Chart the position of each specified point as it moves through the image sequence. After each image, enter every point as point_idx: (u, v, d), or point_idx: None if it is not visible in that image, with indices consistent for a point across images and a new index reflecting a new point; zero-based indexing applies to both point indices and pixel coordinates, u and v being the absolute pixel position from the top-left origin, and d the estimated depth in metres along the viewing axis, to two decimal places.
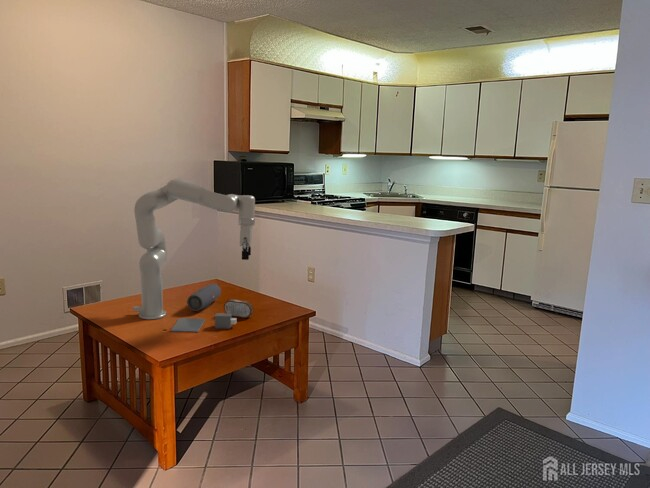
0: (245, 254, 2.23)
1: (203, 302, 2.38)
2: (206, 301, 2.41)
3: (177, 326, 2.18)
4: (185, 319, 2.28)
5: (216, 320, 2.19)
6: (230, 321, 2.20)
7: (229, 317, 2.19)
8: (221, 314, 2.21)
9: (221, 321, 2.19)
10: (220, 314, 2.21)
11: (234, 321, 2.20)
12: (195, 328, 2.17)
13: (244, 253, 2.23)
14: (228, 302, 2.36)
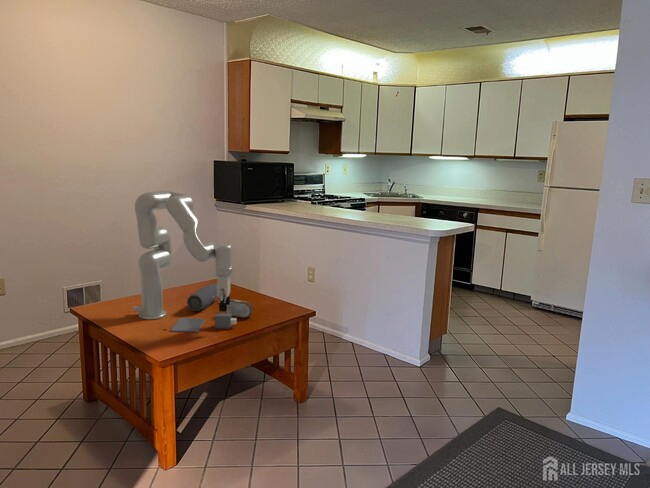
0: (222, 306, 2.14)
1: (203, 302, 2.38)
2: (206, 301, 2.41)
3: (177, 326, 2.18)
4: (185, 319, 2.28)
5: (216, 320, 2.19)
6: (230, 321, 2.20)
7: (229, 317, 2.19)
8: (221, 314, 2.21)
9: (221, 321, 2.19)
10: (220, 314, 2.21)
11: (234, 321, 2.20)
12: (195, 328, 2.17)
13: (221, 305, 2.14)
14: None
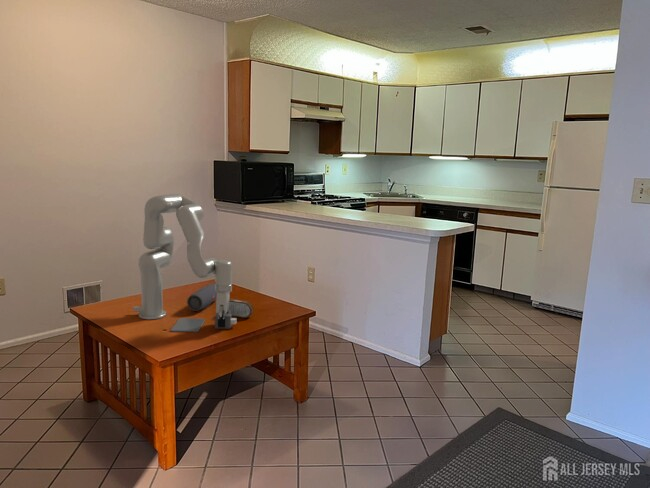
0: (221, 322, 2.15)
1: (203, 302, 2.38)
2: (206, 301, 2.41)
3: (177, 326, 2.18)
4: (185, 319, 2.28)
5: (216, 320, 2.19)
6: (230, 321, 2.20)
7: (229, 317, 2.19)
8: None
9: None
10: None
11: (234, 321, 2.20)
12: (195, 328, 2.17)
13: (220, 321, 2.15)
14: None
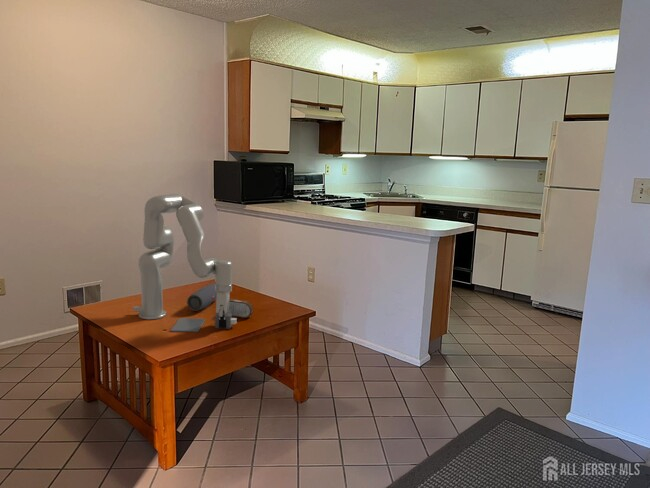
0: (222, 322, 2.18)
1: (203, 302, 2.38)
2: (206, 301, 2.41)
3: (177, 326, 2.18)
4: (185, 319, 2.28)
5: (216, 320, 2.19)
6: (230, 321, 2.20)
7: (229, 317, 2.19)
8: None
9: None
10: None
11: (234, 321, 2.20)
12: (195, 328, 2.17)
13: (221, 321, 2.18)
14: None
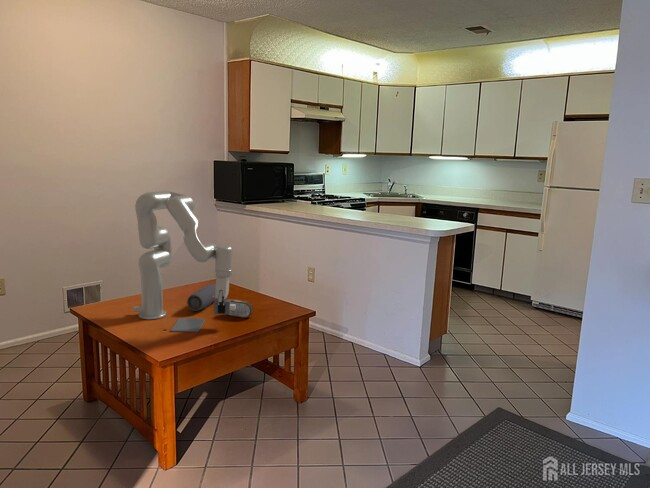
0: (221, 308, 2.17)
1: (203, 302, 2.38)
2: (206, 301, 2.41)
3: (177, 326, 2.18)
4: (185, 319, 2.28)
5: (215, 305, 2.18)
6: (229, 307, 2.19)
7: (228, 303, 2.18)
8: None
9: None
10: None
11: (233, 307, 2.19)
12: (195, 328, 2.17)
13: (220, 307, 2.17)
14: None
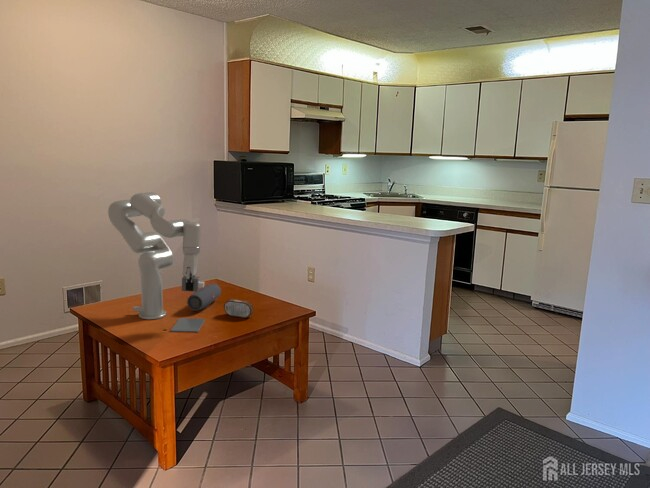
0: (189, 285, 2.15)
1: (203, 302, 2.38)
2: (206, 301, 2.41)
3: (177, 326, 2.18)
4: (185, 319, 2.28)
5: (183, 283, 2.16)
6: (197, 284, 2.17)
7: (196, 280, 2.16)
8: None
9: None
10: None
11: (202, 284, 2.17)
12: (195, 328, 2.17)
13: (188, 284, 2.15)
14: (228, 302, 2.36)
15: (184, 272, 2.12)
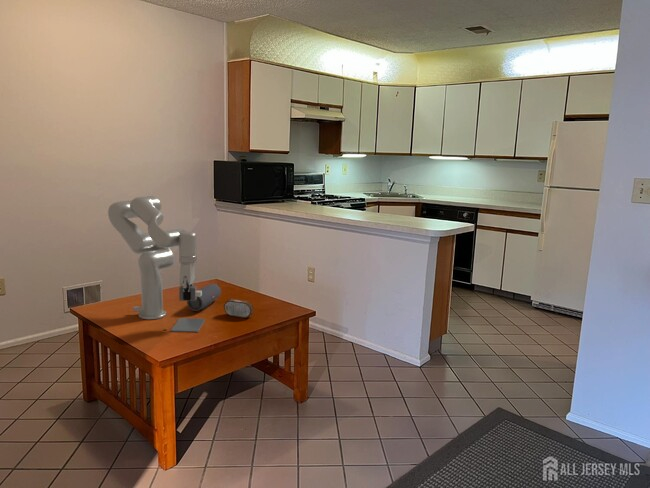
0: (186, 294, 2.15)
1: (203, 302, 2.38)
2: (206, 301, 2.41)
3: (177, 326, 2.18)
4: (185, 319, 2.28)
5: (180, 292, 2.16)
6: (195, 293, 2.17)
7: (194, 289, 2.17)
8: None
9: None
10: None
11: (199, 293, 2.18)
12: (195, 328, 2.17)
13: (185, 293, 2.15)
14: (228, 302, 2.36)
15: (181, 282, 2.12)
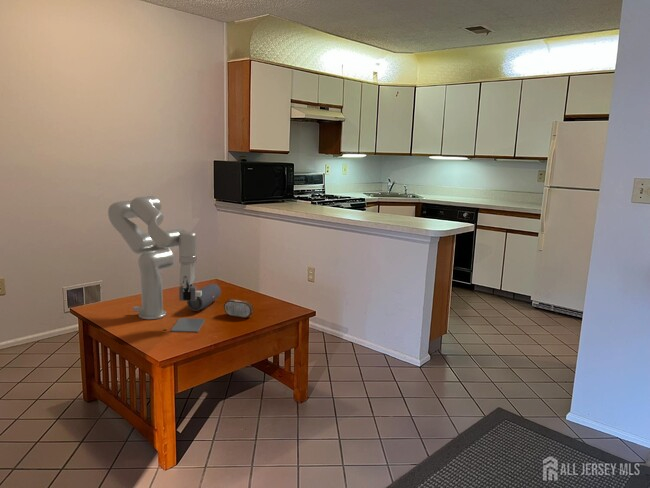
0: (186, 294, 2.15)
1: (203, 302, 2.38)
2: (206, 301, 2.41)
3: (177, 326, 2.18)
4: (185, 319, 2.28)
5: (180, 292, 2.16)
6: (195, 293, 2.17)
7: (194, 289, 2.17)
8: None
9: None
10: None
11: (199, 293, 2.18)
12: (195, 328, 2.17)
13: (185, 293, 2.15)
14: (228, 302, 2.36)
15: (181, 282, 2.12)
